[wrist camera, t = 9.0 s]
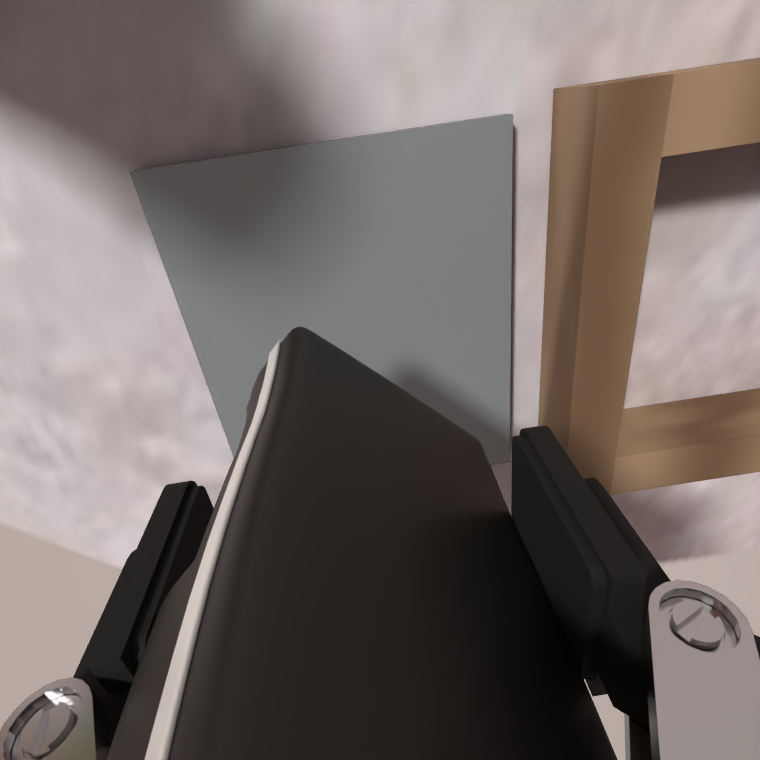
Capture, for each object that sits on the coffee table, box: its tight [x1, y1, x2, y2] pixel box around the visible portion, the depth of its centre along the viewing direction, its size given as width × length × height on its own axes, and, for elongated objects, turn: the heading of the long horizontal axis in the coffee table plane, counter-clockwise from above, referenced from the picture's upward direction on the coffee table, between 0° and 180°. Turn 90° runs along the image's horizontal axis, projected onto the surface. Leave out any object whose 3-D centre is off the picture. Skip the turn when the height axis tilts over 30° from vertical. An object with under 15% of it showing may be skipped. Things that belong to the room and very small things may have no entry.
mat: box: [130, 114, 513, 465], centre depth 19 cm, size 12×14×1 cm
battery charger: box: [106, 327, 617, 760], centre depth 9 cm, size 7×4×11 cm, turn 52°
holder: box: [538, 58, 760, 495], centre depth 18 cm, size 13×15×3 cm
